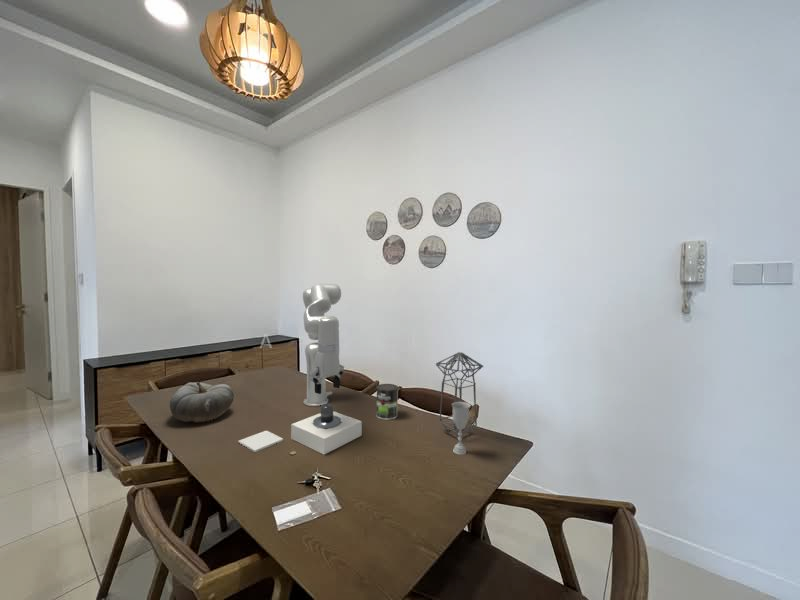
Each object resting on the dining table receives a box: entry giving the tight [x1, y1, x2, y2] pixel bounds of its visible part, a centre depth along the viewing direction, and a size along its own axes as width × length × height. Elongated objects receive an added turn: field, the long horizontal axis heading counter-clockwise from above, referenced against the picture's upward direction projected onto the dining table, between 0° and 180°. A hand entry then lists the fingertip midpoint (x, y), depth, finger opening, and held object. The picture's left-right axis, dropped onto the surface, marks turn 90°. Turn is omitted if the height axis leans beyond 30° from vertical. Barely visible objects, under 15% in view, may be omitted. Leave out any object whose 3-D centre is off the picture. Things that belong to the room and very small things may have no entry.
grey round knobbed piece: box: [313, 403, 341, 429], centre depth 137 cm, size 11×11×12 cm
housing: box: [290, 410, 363, 455], centre depth 138 cm, size 20×20×6 cm
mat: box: [237, 430, 284, 453], centre depth 133 cm, size 12×12×1 cm
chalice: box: [451, 401, 471, 455], centre depth 128 cm, size 7×7×18 cm
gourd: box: [169, 381, 235, 423], centre depth 155 cm, size 25×25×17 cm
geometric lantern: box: [435, 351, 484, 439], centre depth 143 cm, size 16×16×35 cm
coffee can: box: [375, 383, 399, 421], centre depth 161 cm, size 10×10×14 cm
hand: (327, 390), depth 136 cm, fingers open, 9 cm apart
